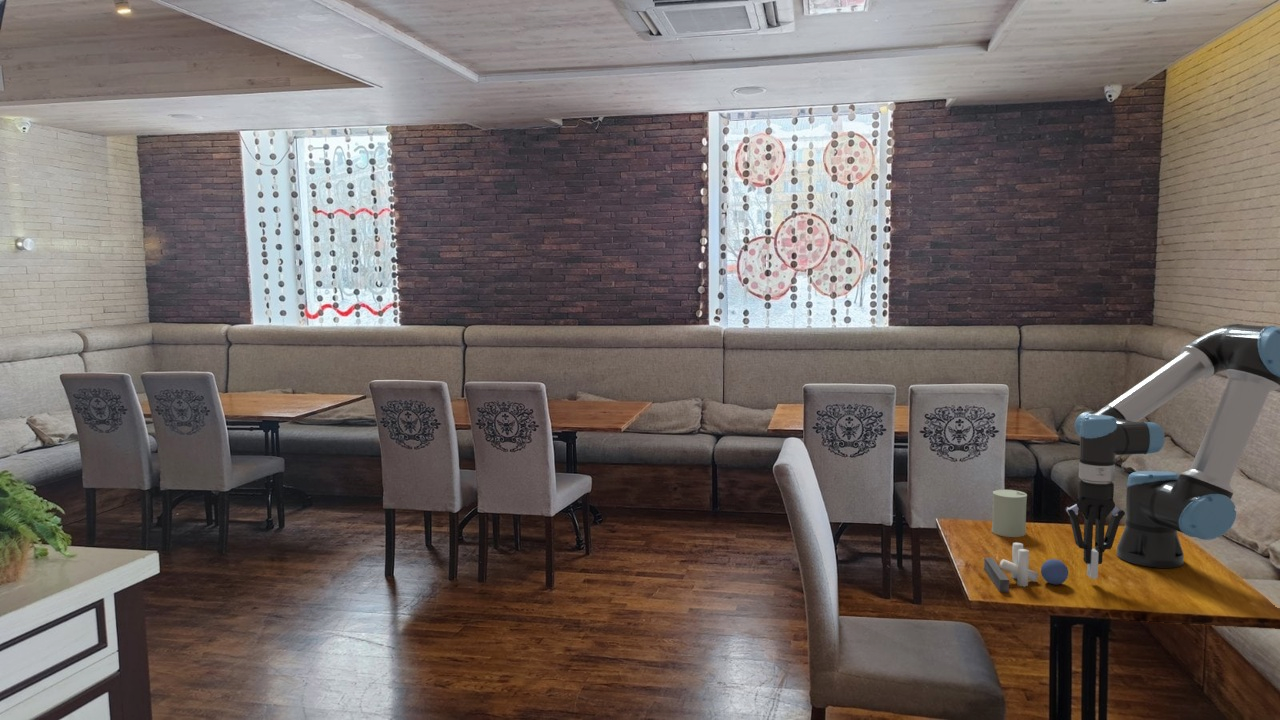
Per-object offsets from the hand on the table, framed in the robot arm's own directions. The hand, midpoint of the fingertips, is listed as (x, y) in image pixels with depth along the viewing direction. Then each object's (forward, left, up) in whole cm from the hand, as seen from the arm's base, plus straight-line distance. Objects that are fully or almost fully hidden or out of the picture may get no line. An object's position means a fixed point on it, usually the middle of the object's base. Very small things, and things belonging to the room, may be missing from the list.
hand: (1092, 576), depth 213 cm
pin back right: (+16, -2, -2) cm, 17 cm away
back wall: (+22, 0, -2) cm, 22 cm away
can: (+9, -41, -2) cm, 42 cm away
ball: (+9, +1, +1) cm, 9 cm away
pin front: (+13, 0, -1) cm, 13 cm away
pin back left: (+16, +2, -2) cm, 17 cm away
